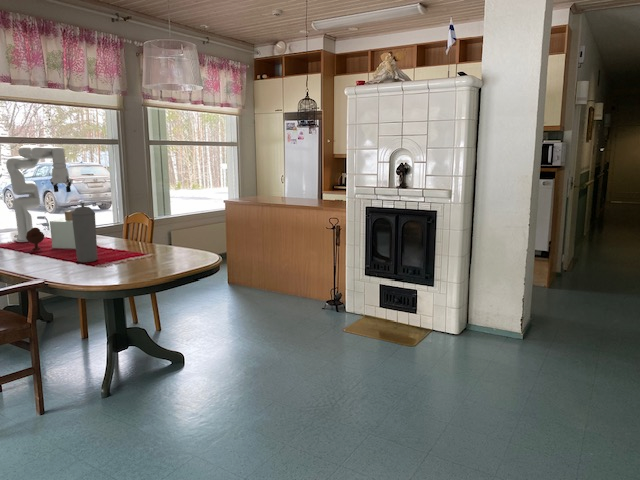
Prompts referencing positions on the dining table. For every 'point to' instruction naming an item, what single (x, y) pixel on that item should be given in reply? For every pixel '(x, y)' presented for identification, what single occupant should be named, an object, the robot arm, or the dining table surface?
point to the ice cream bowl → (35, 237)
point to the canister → (85, 233)
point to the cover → (63, 232)
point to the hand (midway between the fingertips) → (62, 191)
